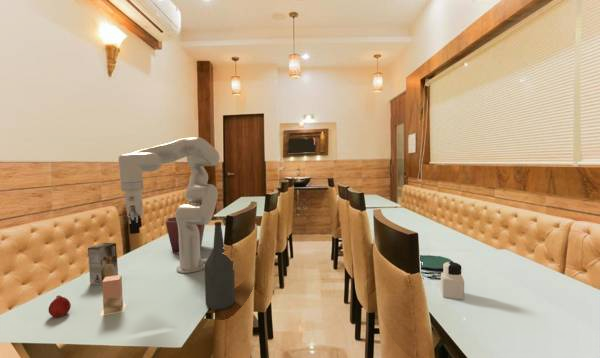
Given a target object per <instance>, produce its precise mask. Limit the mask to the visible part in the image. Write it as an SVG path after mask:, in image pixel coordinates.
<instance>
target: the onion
mask: <svg viewBox="0 0 600 358" xmlns="http://www.w3.org/2000/svg"><path fill="white" fill-rule="evenodd" d="M55 297H56V298H54V300H52V301H51V302H50V304H49V306H48V313H49V315H50V316H52V317H53V318H61V317H64V316H66V315H67V314H68V313H69V311H70V310H71V307H72V305H71V302H70V300H69V299H68V298H66V297H65V296H61V294H60V295H59V294H58V295H56V296H55Z"/></svg>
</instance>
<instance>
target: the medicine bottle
mask: <svg viewBox="0 0 600 358" xmlns="http://www.w3.org/2000/svg"><path fill="white" fill-rule="evenodd" d="M442 271H443V273H441V274H440V275H441V276H440V278H441V279H440V292H441V295H442V298H443V299H454V300H465V280H464V278H463V276H462V265H461V264H460V263H458V262H454V261H453V262H446V263H444V264H443V270H442Z"/></svg>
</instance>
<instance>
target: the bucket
mask: <svg viewBox="0 0 600 358" xmlns="http://www.w3.org/2000/svg"><path fill="white" fill-rule="evenodd" d="M196 225H197V227H198V229H199V234H200V249H201V248H202V244H203V237H204V232H205V231H204V230H205V226H206V224H205V225H198V224H196ZM165 226H166V229H167V234H168V239H169V243H170V247H171V250H172V253H177V254H179V232H178V225H177V221H176V216H172V217H167V218H165Z"/></svg>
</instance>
